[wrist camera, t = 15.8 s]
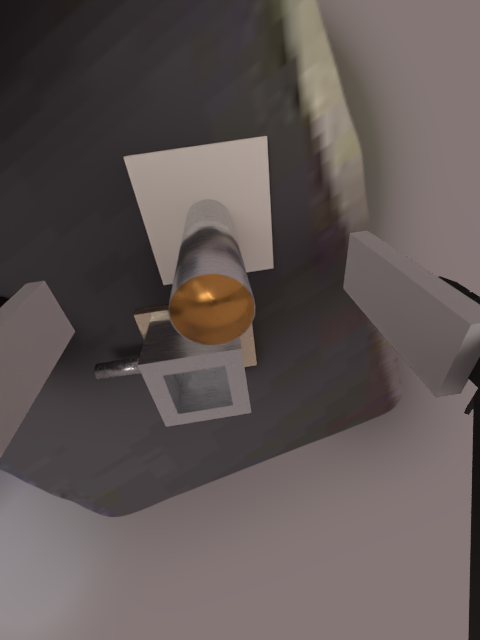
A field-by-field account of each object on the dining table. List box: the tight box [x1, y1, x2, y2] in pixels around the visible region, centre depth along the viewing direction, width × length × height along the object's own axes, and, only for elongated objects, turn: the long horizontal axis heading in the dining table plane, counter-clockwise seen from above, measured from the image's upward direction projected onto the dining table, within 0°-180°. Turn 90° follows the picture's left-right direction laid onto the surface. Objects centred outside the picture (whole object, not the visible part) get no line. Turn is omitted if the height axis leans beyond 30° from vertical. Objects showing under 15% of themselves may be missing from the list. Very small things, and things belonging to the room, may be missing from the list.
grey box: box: [94, 304, 257, 427], centre depth 26 cm, size 9×16×8 cm, turn 97°
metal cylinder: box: [168, 199, 255, 346], centre depth 17 cm, size 4×4×13 cm
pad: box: [123, 136, 274, 285], centre depth 22 cm, size 10×10×1 cm
